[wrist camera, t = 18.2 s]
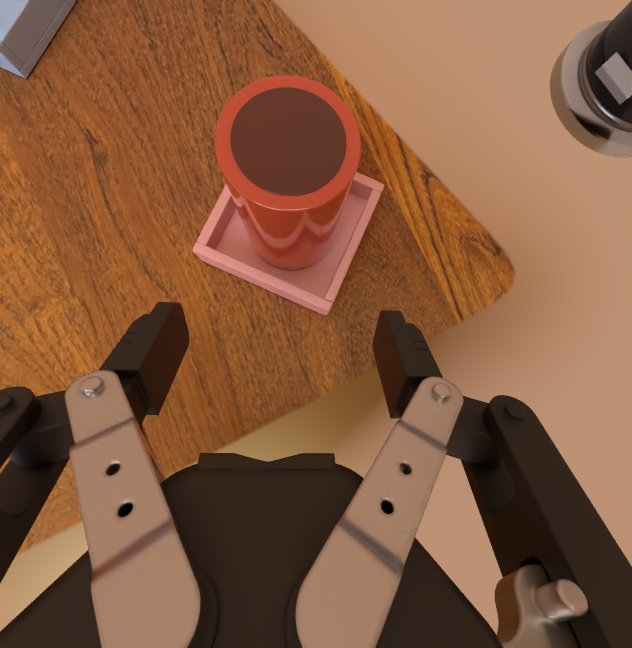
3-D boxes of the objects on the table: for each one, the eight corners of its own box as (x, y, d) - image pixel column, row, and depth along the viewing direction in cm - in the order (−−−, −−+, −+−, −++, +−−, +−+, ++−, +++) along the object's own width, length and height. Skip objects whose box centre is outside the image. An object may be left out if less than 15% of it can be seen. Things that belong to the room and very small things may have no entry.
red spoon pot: (270, 173, 20) (253, 49, 12) (348, 209, 20) (383, 110, 12) (233, 248, 19) (187, 171, 11) (313, 285, 19) (327, 235, 11)
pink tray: (259, 147, 20) (256, 125, 18) (376, 200, 21) (385, 184, 19) (202, 260, 19) (191, 250, 17) (326, 316, 19) (329, 311, 17)
